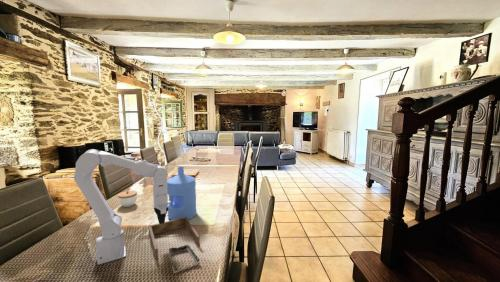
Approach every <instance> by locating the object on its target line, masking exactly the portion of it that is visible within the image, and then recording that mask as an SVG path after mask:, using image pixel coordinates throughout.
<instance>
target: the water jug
mask: <svg viewBox="0 0 500 282" xmlns="http://www.w3.org/2000/svg"><path fill="white" fill-rule="evenodd" d="M184 168H185V167H184V166H178V167H177V175H174V176H172V177H171V178H169V179H167V196H168V201H170V202H171V203H170V204H168V211H167V218H168V219H169V220H170V221H171V220H175V219H179V218H183V217H187V218H188V220H191V219H192V218H194V217H195V216H196V215H197V192H196V186H197V185H196V183H197V182H196V178H195V177H194V176H191V175H188V174H185V172H184V171H185V170H184Z"/></svg>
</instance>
